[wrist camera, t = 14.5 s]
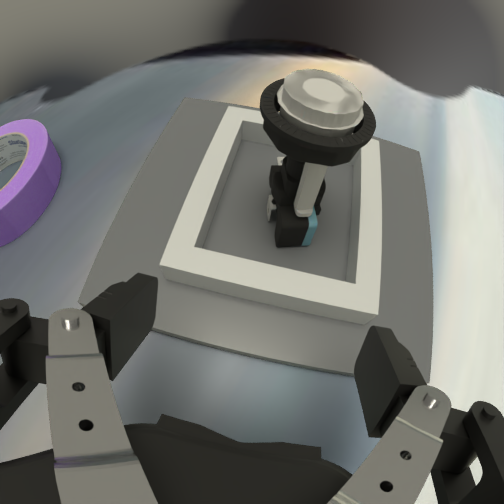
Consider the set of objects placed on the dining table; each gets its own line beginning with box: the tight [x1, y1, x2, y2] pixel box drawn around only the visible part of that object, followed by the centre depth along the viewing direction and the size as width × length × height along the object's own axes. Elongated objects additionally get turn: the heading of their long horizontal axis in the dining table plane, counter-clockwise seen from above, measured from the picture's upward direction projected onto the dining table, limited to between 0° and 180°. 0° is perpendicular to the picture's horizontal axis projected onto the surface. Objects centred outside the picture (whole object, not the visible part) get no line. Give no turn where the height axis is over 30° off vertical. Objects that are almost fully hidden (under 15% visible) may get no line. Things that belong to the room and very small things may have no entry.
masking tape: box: [0, 119, 61, 247], centre depth 21 cm, size 12×12×4 cm
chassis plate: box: [78, 98, 433, 384], centre depth 21 cm, size 22×20×3 cm
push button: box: [260, 69, 376, 247], centre depth 17 cm, size 7×5×10 cm
